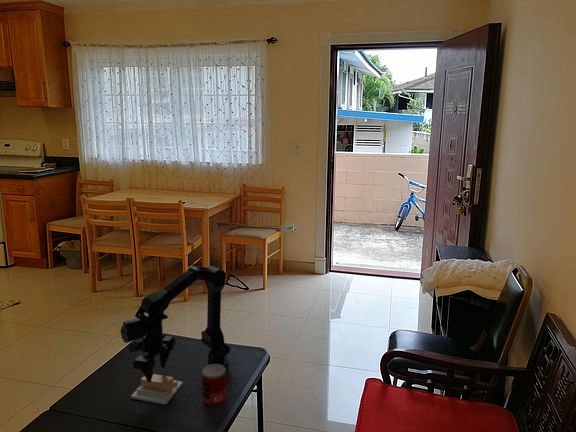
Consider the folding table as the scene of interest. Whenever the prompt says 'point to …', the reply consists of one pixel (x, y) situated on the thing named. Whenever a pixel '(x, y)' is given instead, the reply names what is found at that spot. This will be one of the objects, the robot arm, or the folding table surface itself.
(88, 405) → the folding table surface
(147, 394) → the deck plate
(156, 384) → the chute block
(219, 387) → the canned food
